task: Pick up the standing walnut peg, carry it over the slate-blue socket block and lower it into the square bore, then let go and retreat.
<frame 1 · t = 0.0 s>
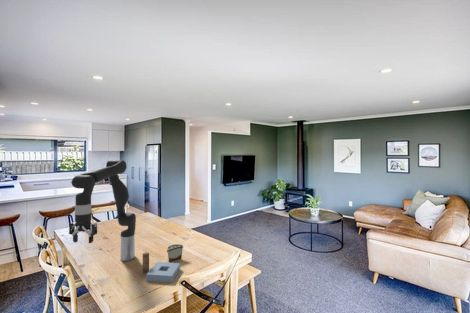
hand: (83, 242, 125), 29 cm above the table, fingers open, 8 cm apart
walnut peg: (145, 271, 151), on the table
socket block: (163, 274, 148), on the table
food container: (173, 259, 169), on the table
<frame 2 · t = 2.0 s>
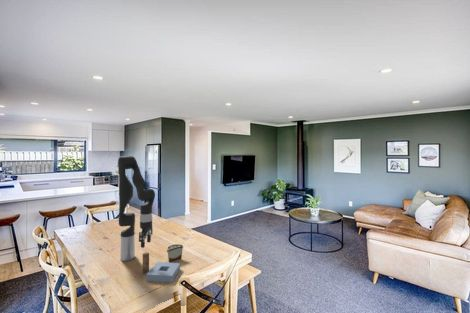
hand: (145, 244, 151), 18 cm above the table, fingers open, 8 cm apart
nothing on the table moved.
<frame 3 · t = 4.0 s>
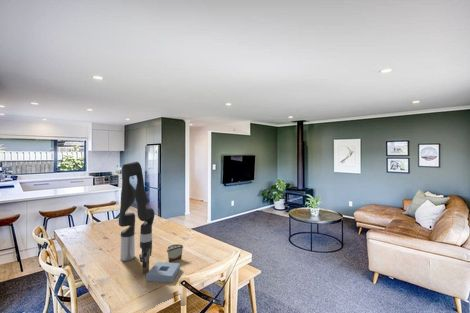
hand: (145, 265, 151), 4 cm above the table, fingers closed on walnut peg, 4 cm apart
walnut peg: (145, 271, 151), on the table, touching gripper
everything else where it was.
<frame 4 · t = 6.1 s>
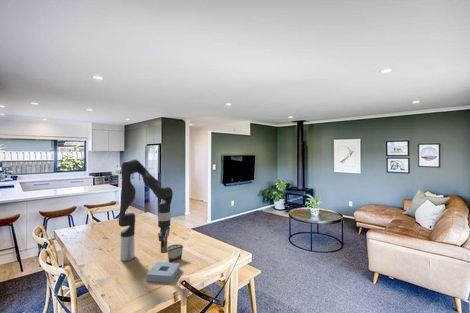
hand: (164, 245, 148), 19 cm above the table, fingers closed on walnut peg, 4 cm apart
walnut peg: (163, 252, 148), point 15 cm above the table, touching gripper
everything else where it was.
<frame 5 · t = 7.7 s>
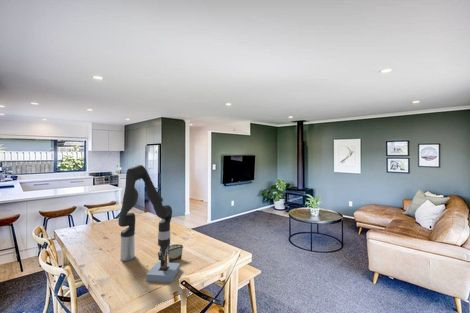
hand: (163, 263, 148), 7 cm above the table, fingers closed on walnut peg, 4 cm apart
walnut peg: (163, 270, 148), point 3 cm above the table, touching gripper
everything else where it was.
when the fingers open (6 cm above the table, at t = 8.6 s): walnut peg drops 2 cm, resting in socket block.
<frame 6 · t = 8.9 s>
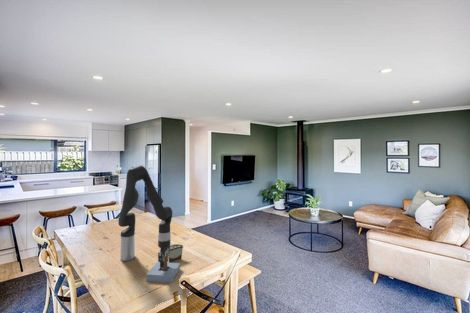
hand: (164, 264, 148), 7 cm above the table, fingers open, 6 cm apart
walnut peg: (163, 274, 148), resting in socket block
everything else where it was.
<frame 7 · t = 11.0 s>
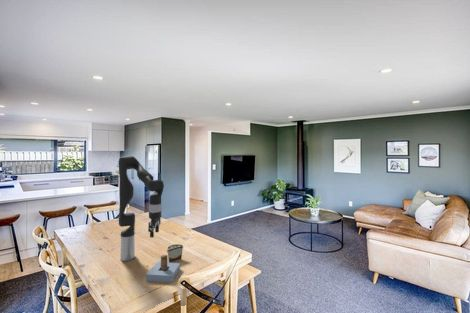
hand: (154, 234, 152), 24 cm above the table, fingers open, 8 cm apart
nothing on the table moved.
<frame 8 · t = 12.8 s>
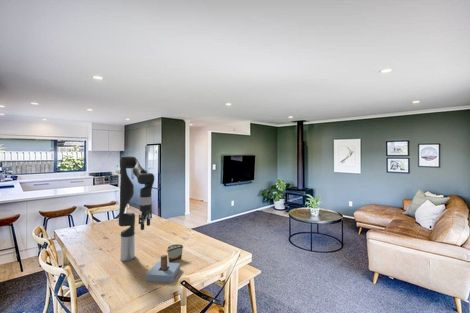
hand: (145, 227, 154), 28 cm above the table, fingers open, 8 cm apart
nothing on the table moved.
at the end: walnut peg 0.1 cm off-centre on the socket block, point 0.0 cm above the socket block's base; walnut peg tilted 0°; the gripper is holding nothing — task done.
